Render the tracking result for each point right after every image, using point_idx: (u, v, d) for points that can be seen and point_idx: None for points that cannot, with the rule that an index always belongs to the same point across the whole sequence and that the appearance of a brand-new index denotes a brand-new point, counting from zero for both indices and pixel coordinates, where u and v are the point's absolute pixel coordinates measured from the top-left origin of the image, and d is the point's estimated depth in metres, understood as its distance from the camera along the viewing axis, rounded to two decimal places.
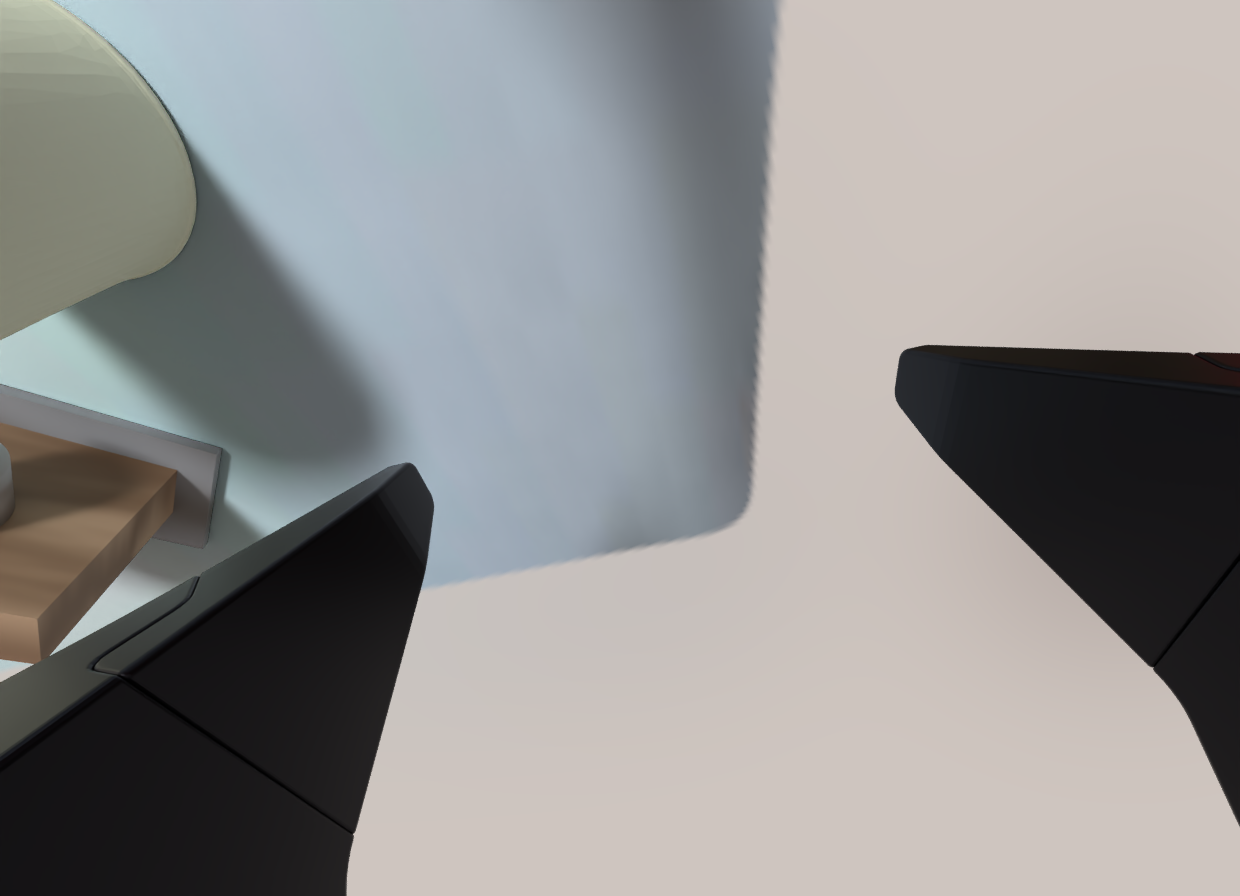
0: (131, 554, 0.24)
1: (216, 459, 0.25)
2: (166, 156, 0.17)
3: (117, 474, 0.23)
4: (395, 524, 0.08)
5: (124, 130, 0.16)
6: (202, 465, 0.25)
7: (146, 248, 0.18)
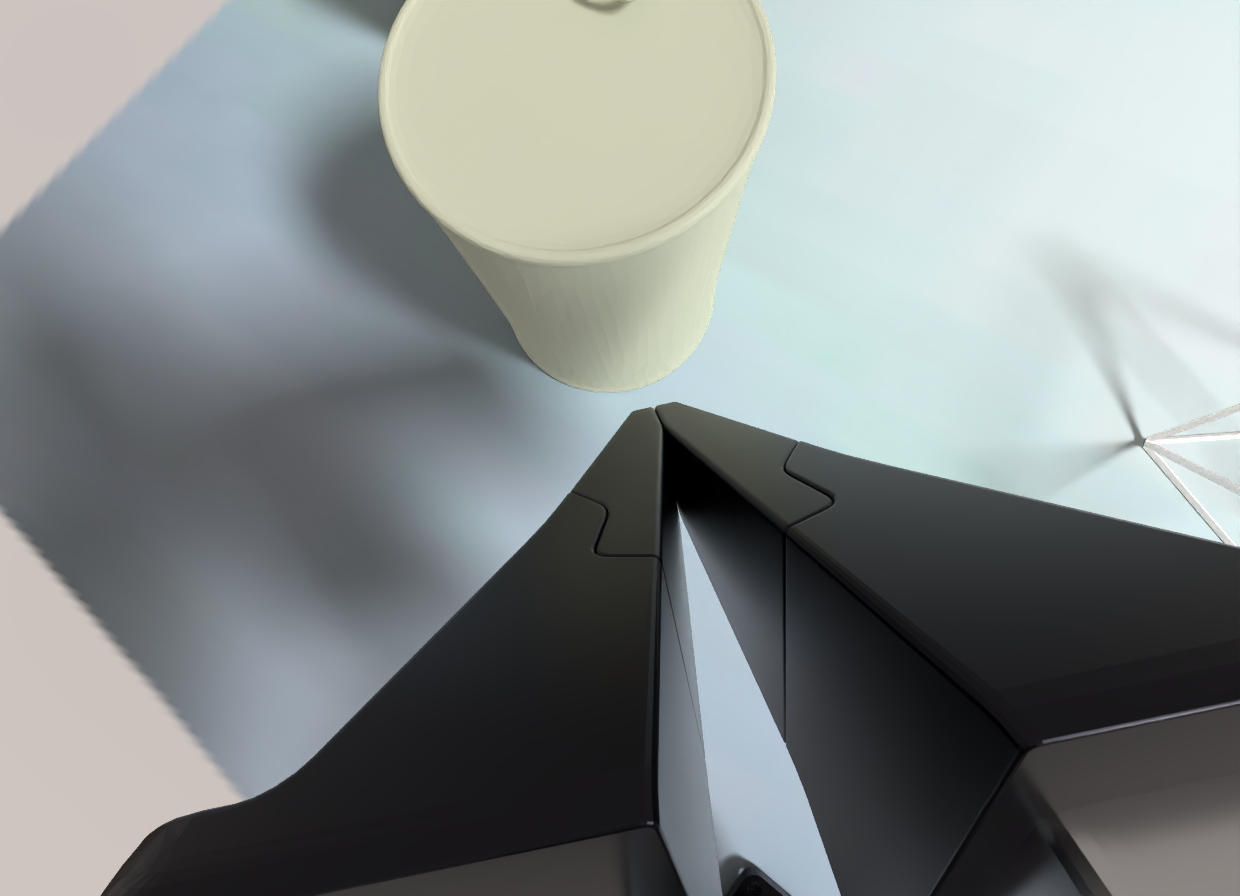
0: None
1: None
2: (523, 344, 0.22)
3: None
4: (669, 463, 0.08)
5: (530, 347, 0.20)
6: None
7: None
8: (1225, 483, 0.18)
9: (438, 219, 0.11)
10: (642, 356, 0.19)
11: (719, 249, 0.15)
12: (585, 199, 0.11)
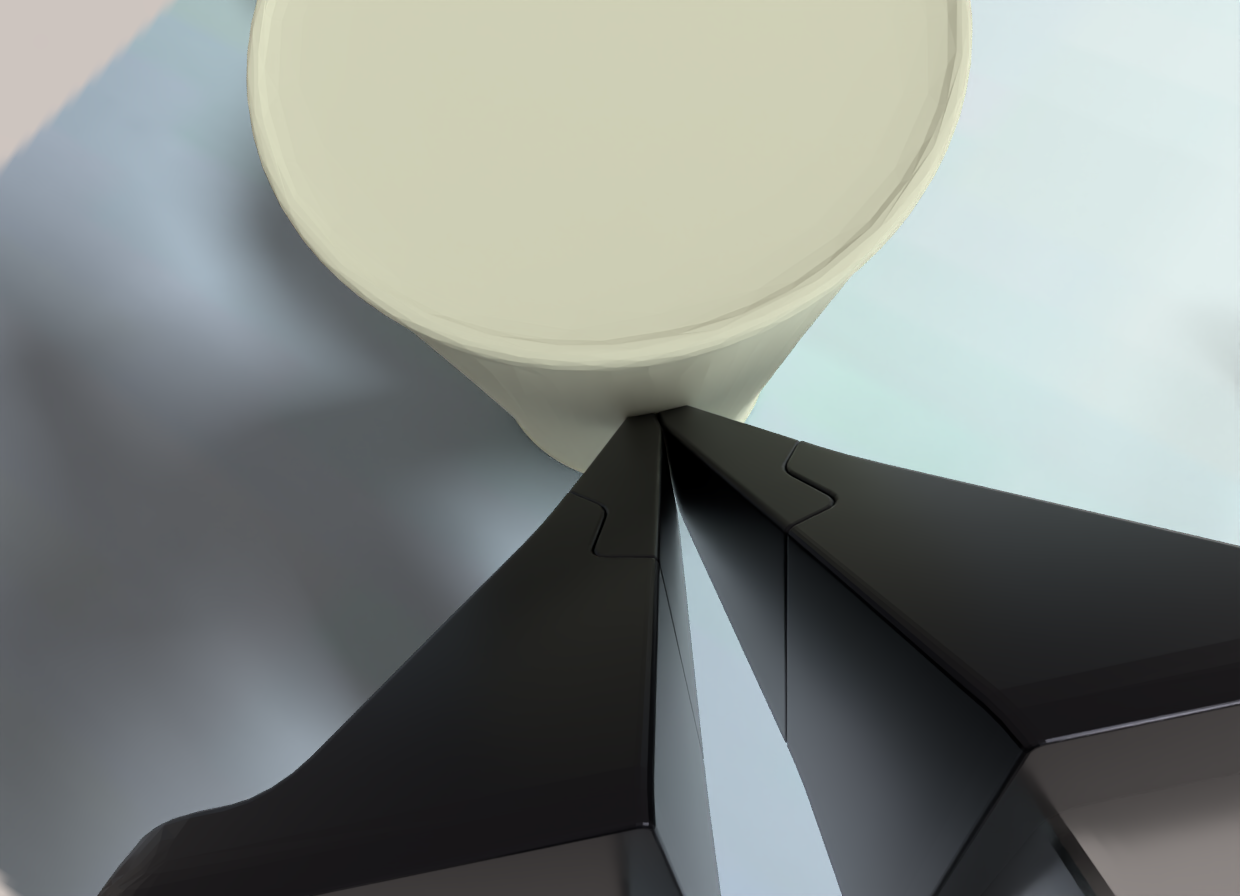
0: None
1: None
2: None
3: None
4: (668, 463, 0.08)
5: None
6: None
7: None
8: None
9: (332, 270, 0.06)
10: None
11: None
12: (607, 245, 0.06)
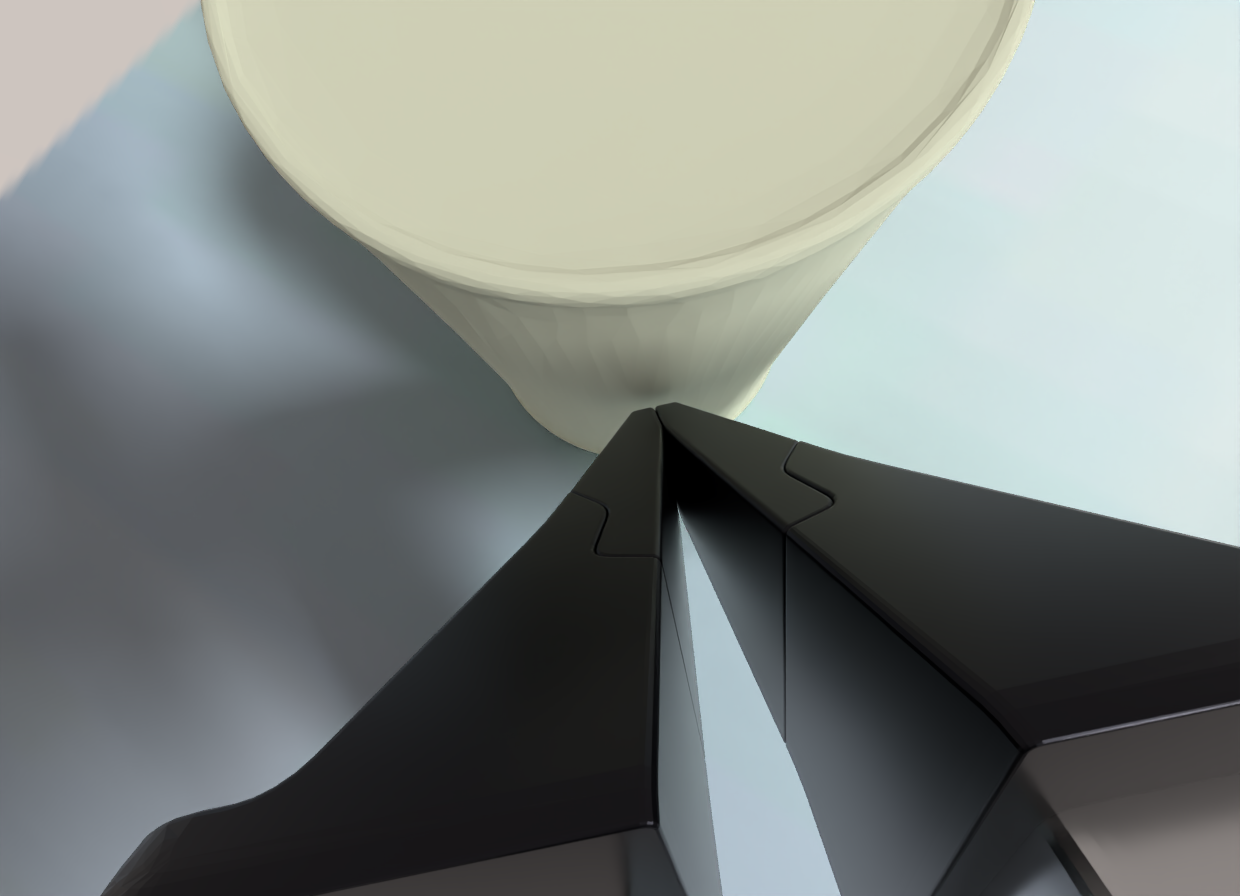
0: None
1: None
2: None
3: None
4: (669, 463, 0.08)
5: None
6: None
7: None
8: None
9: (274, 166, 0.05)
10: None
11: (826, 291, 0.08)
12: (591, 160, 0.05)
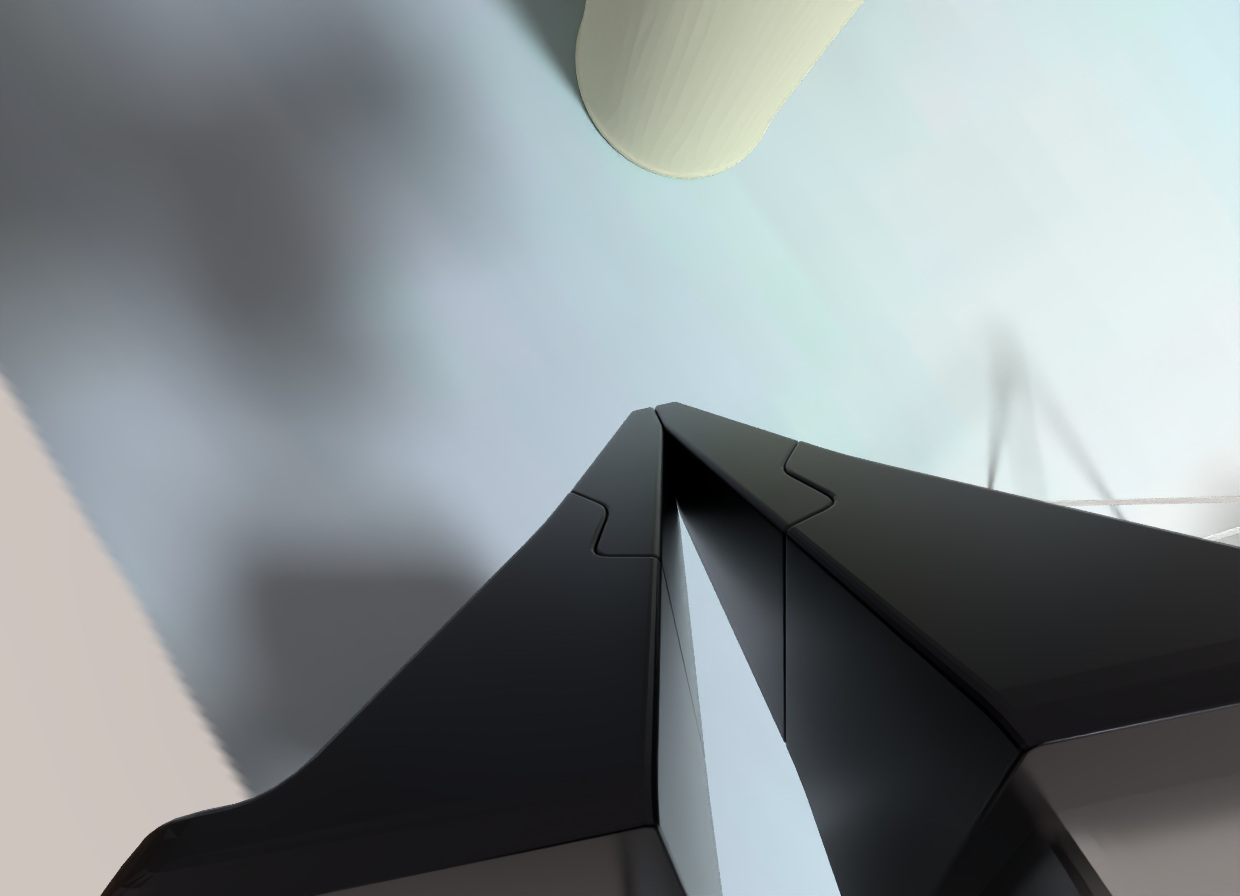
0: None
1: None
2: (581, 59, 0.21)
3: None
4: (669, 463, 0.08)
5: (591, 58, 0.20)
6: None
7: None
8: None
9: None
10: (689, 122, 0.19)
11: (820, 35, 0.16)
12: None
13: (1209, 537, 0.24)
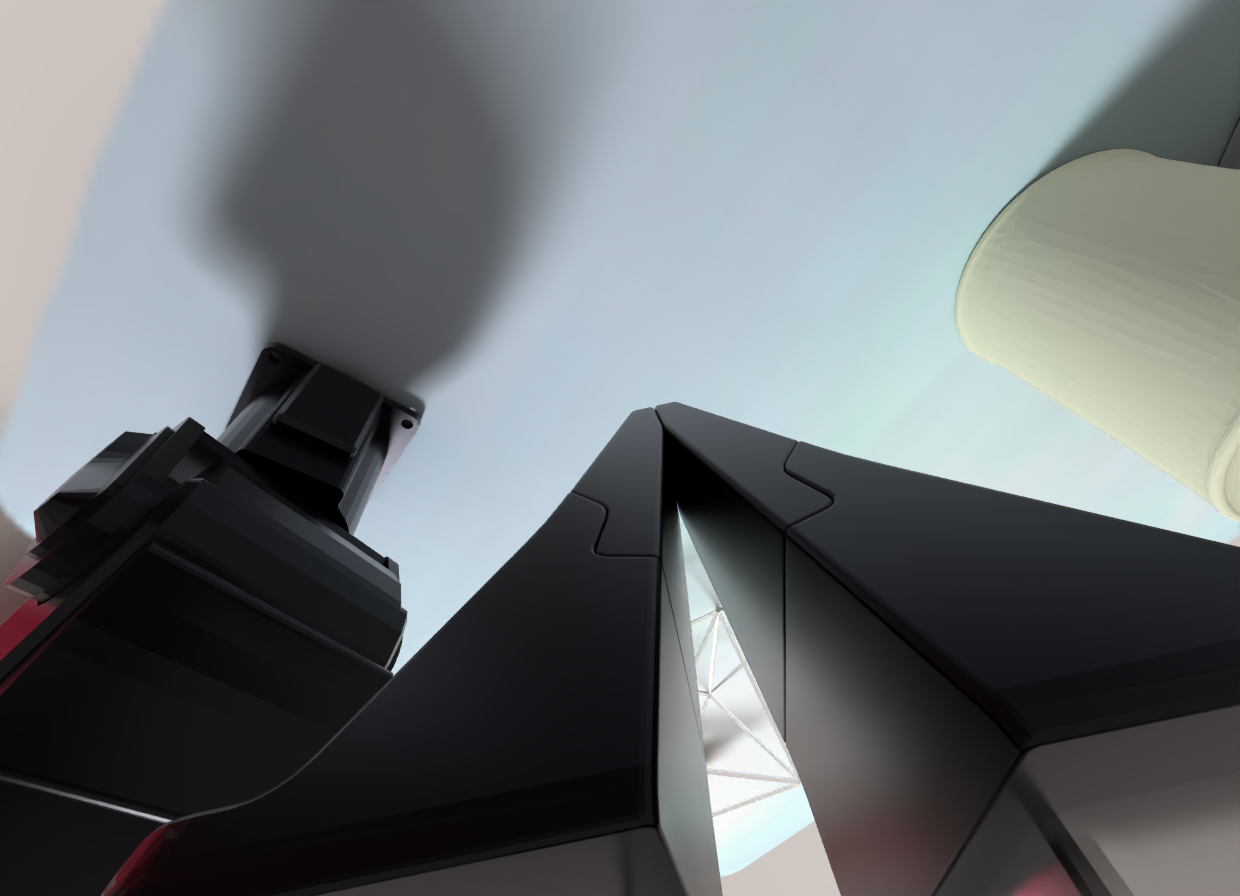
0: None
1: None
2: (1082, 172, 0.19)
3: None
4: (669, 463, 0.08)
5: (1087, 194, 0.19)
6: None
7: (1193, 163, 0.18)
8: (700, 650, 0.32)
9: None
10: (1022, 323, 0.20)
11: (1115, 435, 0.18)
12: None
13: (741, 724, 0.37)
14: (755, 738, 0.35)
